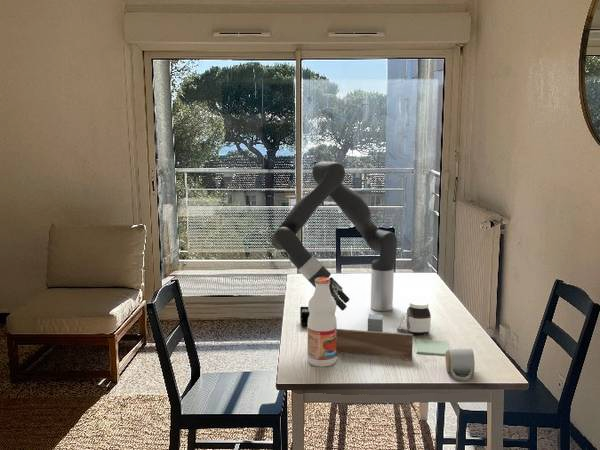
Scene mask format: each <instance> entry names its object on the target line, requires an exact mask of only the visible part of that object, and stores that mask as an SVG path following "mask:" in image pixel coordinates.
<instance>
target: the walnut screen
mask: <svg viewBox="0 0 600 450" xmlns="http://www.w3.org/2000/svg"><path fill="white" fill-rule="evenodd" d="M413 336H414V335H413V334H410V333H402V332H387V331H386V332H385V331H383V332H375V331H368V330H361V329H360V330H357V329H346V328H345V329H343V328H337V332H336V356H342V355H343V354H351V355H353V354H354V355H365V356H378V357H392V358H403V360H404V361H412V359H413V341H414V340H413V339H414V337H413Z"/></svg>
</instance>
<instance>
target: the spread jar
mask: <svg viewBox="0 0 600 450" xmlns="http://www.w3.org/2000/svg"><path fill="white" fill-rule="evenodd" d="M429 305H430V303H429V302H428V301H427V300H423V299H412V300H410V301H409V307H408V308H407V310H406V312H402V315H401V317H400V320H399V322H398V324H397V326H396V329H397V330H398V331H401V330H402V327H403V324H404V322H405V320H406V323H405V324H406V330H407V331H408V334H413V336H418V335H422V336H426V335H428V334H429V333H430V332H431V326H432V323H431V322H432V321H431V320H432V315H431V311H430V309H429Z"/></svg>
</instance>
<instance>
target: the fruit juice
mask: <svg viewBox="0 0 600 450" xmlns="http://www.w3.org/2000/svg"><path fill="white" fill-rule="evenodd" d="M329 278H330V277H329ZM329 278H327V277H318V278H315V284H316V288H315V287H314V288H315V289H314V291H313V294H312V296H311V298H309V300H308V303H307V304H308V306H307V307H308V309H309V313H310V315H309V317H308V327H307V362H308V363H309V364H310V365H312V366H315V367H330V366H333V365H334V364H335V363H336V361H337V355H336V332H337V329H338V328H337V327H338V326H337V325H338V322H337V316H336V310H337V305H336V301H335V300H334V297H332V295H331V292H330V289H329V284H330V279H329Z"/></svg>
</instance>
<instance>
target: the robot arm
mask: <svg viewBox="0 0 600 450" xmlns="http://www.w3.org/2000/svg"><path fill="white" fill-rule="evenodd" d="M312 167H313V168H312V172H311V173H312V178H313V180H314V182H315V184H316V185H317V186H316V187H315V188H314V189H313V190H311V191H310V192H309V193H307V194H306V195H304V196H303V197H301V198H300V200H298V201H297V202H296V203H295V204H294V206H293V207H292V208H291V210H290V211H289V213H288V214H287V215H286V217H285V219H284V220H283V222H282V223H281V224H280V225H279V226H278V228H277V229H276V230H275V231H274V232H273V234H272V235H271V237H270V238H271V239H270V243H271V245H272V247H273V248H274V249H276V250H278V251H282V250H283V251H285V253H286V254H287V255H288V257H289V261H290V262H291V263H292V264H293V265H294V267H296V269H297V270H298V271H299V272H300V273H301V275H302V276H303V277H304V278H305V279H306V280H307V281H308V282H309V283H310V284H311V285H312V286H313V288H316V284H315V278H318V277H327V278H329V279H330V284H329V289H330V292H331V295H332V297H333V298H334V300H335V301H336V307H338V308H339V309H340V310H341V311H344V310H346V309H347V303H349V302H350V299H351V298H349V297H348V296H347V294H345V292H344V290H343V287H342V286H341V285H340V284H339V283H338V282H337V281H336V280H335V279H334V278H333V277H331V275H332V274H331V272H330V271H329V270H328V269H327V268H326V267H325V266H324V265H323V264H322V263H321V262H320V260H318V259H317V258H316V257H315V256H313V254H312V253H311V252H309V250H308V249H307V248H306V247H305V246H304V245H303V242H301V240H300V239H299V237H298V236H297V235H298V233H299V231H300V230H301V229H302V228H303V227H304V226H305V225H306V224H307V222H308V221H309V220H310V218H311V217H312V215H313V213H314V212H316V210H317V209H318V208H319V207H320V206H321V204H322V203H323V202H324V201H326V199H327V198H331V200H333V202H334V203H335V204H336V206H337V207H339V209H340V210H341V212H343V214H344V216H345V217H346V218H347V219H348V220H349V221H350V222H351V224H352V225H353V226H354V227H355V228H356V230H357V231H358V232H359V233H360V235H361V236H362V238H363V239H364V241H365V243H366V245H367V246H368V247H369V248H370V249H371V250H372V251H374V252H377V253H379V258H378V259H373V261H371V268H370V269H371V272H370V275H371V276H370V279H371V281H370V309H371V310H373V311H377V312H378V311H379V312H388V311H391V310H392V311H393V309H394V308H393V305H394V304H393V302H394V274H395V273H394V272H395V271H394V269H395V268H394V267H395V264H396V260H397V249H398V239H397V235H396V234H395V233H394V232H393V231H389V230H384V229H380V228H378V226H376V225H375V224H374V223H373V221H372V217H371V215H372V214H371V209H370V207H369V206H368V204H367V203H366V202H365V200H364V199H363V198H362V197H361V196H360V195H359V194H358V193H356V192H355V191H353V190H352V189H350V188H349V187H347V186H346V185H344V184H343V182H344V179H345V178H346V177H345V175H346V169H345V167H344V166H343V164H341V163H340V162H337V161H319V162H316V163H315V164H314V165H313V166H312Z"/></svg>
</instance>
